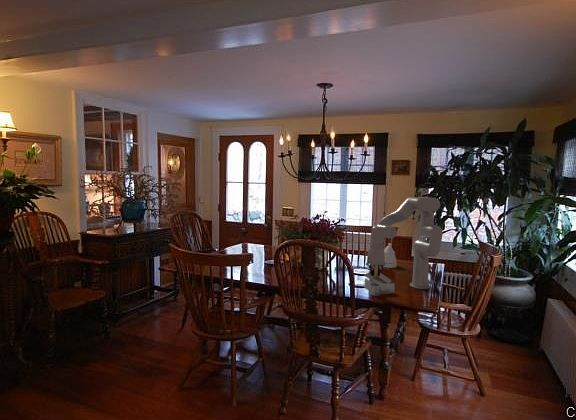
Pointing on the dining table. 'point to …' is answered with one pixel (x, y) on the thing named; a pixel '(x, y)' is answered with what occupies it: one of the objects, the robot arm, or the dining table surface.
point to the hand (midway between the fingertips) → (375, 275)
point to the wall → (380, 280)
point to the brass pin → (375, 272)
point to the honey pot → (390, 257)
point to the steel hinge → (378, 288)
